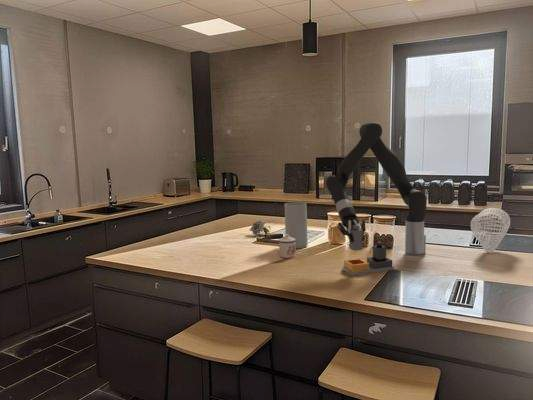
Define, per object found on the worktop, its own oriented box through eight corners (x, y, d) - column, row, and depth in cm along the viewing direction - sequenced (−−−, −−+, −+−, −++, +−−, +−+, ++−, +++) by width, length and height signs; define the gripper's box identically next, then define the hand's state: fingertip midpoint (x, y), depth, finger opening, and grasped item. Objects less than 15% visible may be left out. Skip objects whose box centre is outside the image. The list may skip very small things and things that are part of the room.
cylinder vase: (307, 243, 249) (306, 201, 246) (307, 249, 237) (306, 205, 233) (286, 243, 250) (285, 202, 247) (285, 249, 238) (283, 205, 235)
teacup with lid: (289, 259, 218) (288, 237, 217) (275, 256, 224) (274, 235, 223) (302, 254, 227) (302, 232, 226) (289, 251, 233) (288, 231, 232)
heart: (501, 262, 199) (503, 216, 196) (466, 257, 209) (467, 213, 206) (511, 248, 221) (512, 207, 218) (478, 245, 231) (480, 205, 227)
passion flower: (256, 244, 275) (245, 229, 275) (264, 237, 284) (253, 223, 284) (267, 236, 268) (255, 221, 269) (275, 229, 277) (264, 215, 278)
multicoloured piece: (383, 264, 203) (383, 239, 202) (394, 269, 195) (394, 243, 193) (342, 269, 198) (341, 243, 196) (350, 275, 189) (350, 248, 187)
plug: (357, 247, 196) (357, 224, 194) (362, 249, 192) (362, 225, 190) (349, 248, 195) (349, 225, 193) (353, 250, 190) (353, 226, 189)
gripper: (334, 207, 196) (346, 238, 186) (362, 205, 199) (375, 235, 190) (329, 216, 202) (341, 247, 192) (356, 214, 205) (369, 244, 195)
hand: (357, 241), depth 191 cm, fingers closed on plug, 4 cm apart
